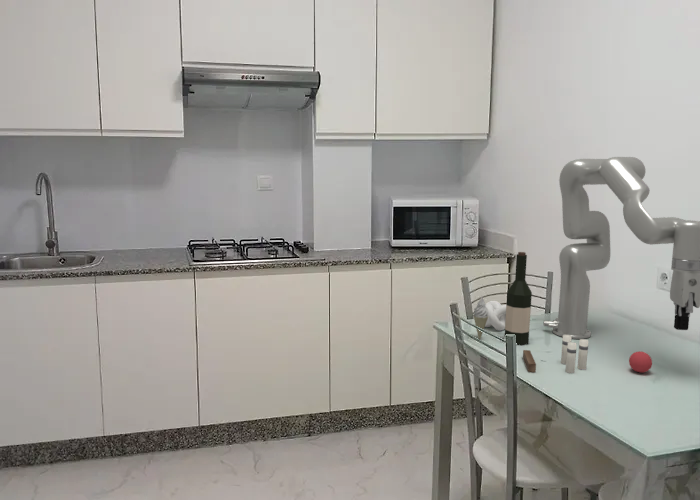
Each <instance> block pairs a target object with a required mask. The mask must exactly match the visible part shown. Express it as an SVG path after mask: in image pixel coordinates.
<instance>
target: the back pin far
mask: <svg viewBox="0 0 700 500" xmlns="http://www.w3.org/2000/svg"><path fill="white" fill-rule="evenodd" d="M571 337H572V336H570V335H563V337H562V342H561V357H560V358H561V359H560V364H561V365H565V366H566V360H567V347H568V342H572V338H571Z"/></svg>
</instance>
